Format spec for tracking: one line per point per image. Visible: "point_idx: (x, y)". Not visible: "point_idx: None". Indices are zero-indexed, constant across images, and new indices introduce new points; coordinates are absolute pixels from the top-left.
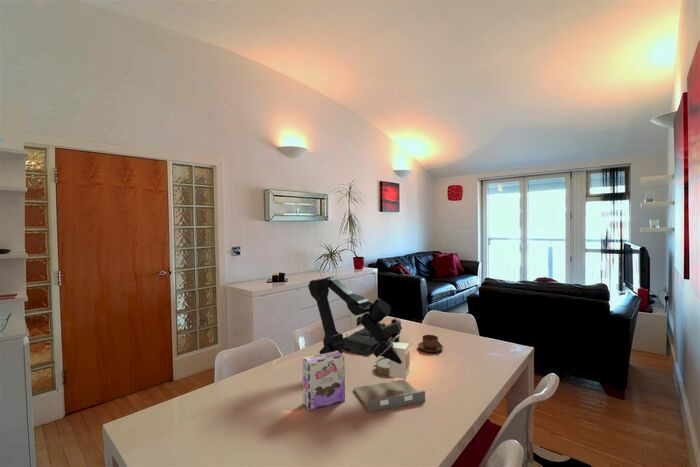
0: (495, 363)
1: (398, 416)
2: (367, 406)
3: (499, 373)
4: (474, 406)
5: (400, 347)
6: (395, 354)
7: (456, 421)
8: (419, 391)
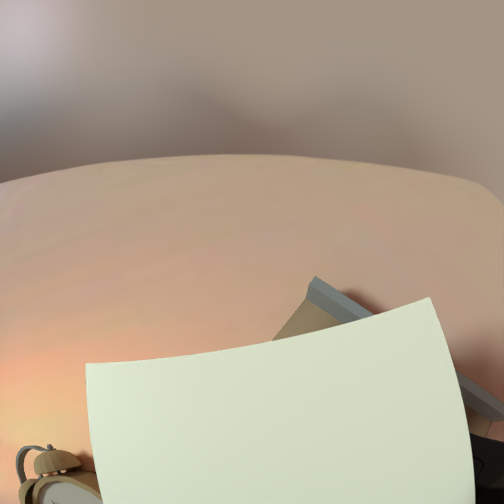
0: (7, 209)
1: (456, 324)
2: (487, 430)
3: (48, 185)
4: (247, 168)
5: (421, 429)
6: (469, 432)
7: (357, 183)
8: (333, 296)
